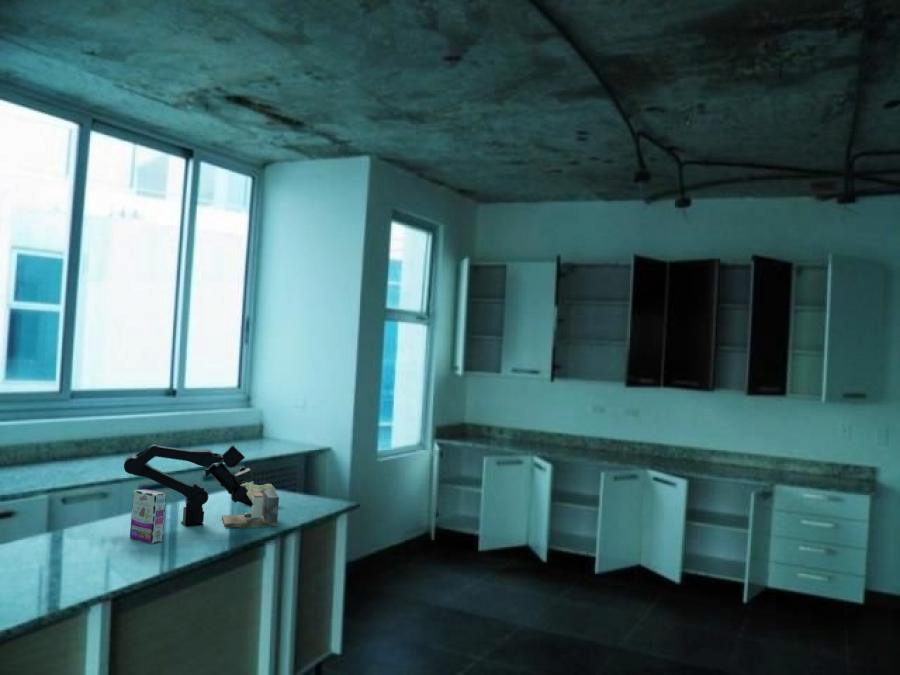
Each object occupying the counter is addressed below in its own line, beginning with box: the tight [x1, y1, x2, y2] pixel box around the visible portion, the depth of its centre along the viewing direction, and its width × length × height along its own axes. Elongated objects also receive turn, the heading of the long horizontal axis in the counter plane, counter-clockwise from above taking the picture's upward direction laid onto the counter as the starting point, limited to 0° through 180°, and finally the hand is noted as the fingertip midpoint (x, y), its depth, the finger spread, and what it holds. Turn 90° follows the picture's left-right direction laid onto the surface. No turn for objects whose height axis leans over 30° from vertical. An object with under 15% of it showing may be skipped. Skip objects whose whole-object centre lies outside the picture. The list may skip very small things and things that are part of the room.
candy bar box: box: [129, 488, 168, 545], centre depth 245 cm, size 11×5×16 cm, turn 62°
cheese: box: [240, 480, 277, 504], centre depth 308 cm, size 15×7×15 cm
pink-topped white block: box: [250, 493, 263, 520], centre depth 278 cm, size 3×6×9 cm, turn 22°
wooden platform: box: [221, 490, 280, 528], centre depth 277 cm, size 19×13×11 cm
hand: (252, 505), depth 277 cm, fingers closed, pressing on pink-topped white block
